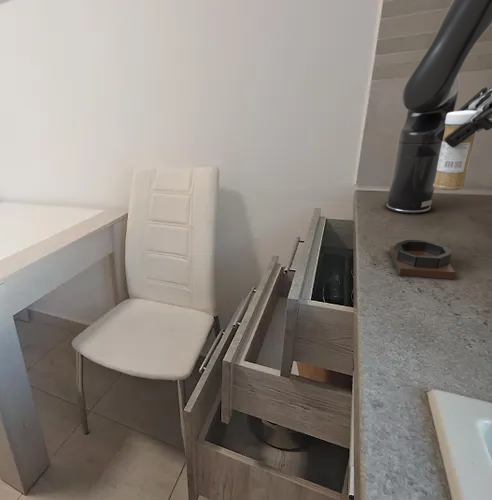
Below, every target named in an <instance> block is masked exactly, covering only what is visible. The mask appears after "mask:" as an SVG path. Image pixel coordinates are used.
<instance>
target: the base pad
mask: <svg viewBox="0 0 492 500" xmlns="http://www.w3.org/2000/svg"><path fill="white" fill-rule="evenodd" d="M389 255H390V258H391V259H392V262H393V264H394V267H395V269H396V272H397V273H398V276H400V277H401V276H403V277H414V278H415V277H416V278H417V277H418V278H427V279H429V278H430V279H440V280H454V279H455V275H456V271H455V269H454V268H453V266H452V265H451V264H450V261H451V257H452V252H451V250H450V249H449V248H448V247H447V246H446V245H445V244H441V243H438V242H434V241H430V240H425V239H424V240H423V239H421V240H420V239H405V240H402V241H400V242H397V243H395V245H390V247H389Z"/></svg>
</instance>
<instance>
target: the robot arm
mask: <svg viewBox="0 0 492 500" xmlns="http://www.w3.org/2000/svg"><path fill="white" fill-rule="evenodd" d="M439 25H440V26H439V28H438V30H437V32H436V34H435V36H434V39H433V40H432V42H431V43H430V45H429V47H428V49H427V50H426V52H425V54H424V55H423V57H422V58H421V60H420V62H419V63H418V64H417V66H416V68H415V69H414V70H413V72H412V74H411V75H410V77H409V78H408V80H407V81H406V83H405V85H404V87H403V89H402V94H401V100H402V104H403V106H404V108H405V109H406V110H407V113H406V115H405V116H406V117H405V120H404V123H403V125H402V127H401V128H400V131H399V133H398V138H397V144H396V150H395V157H394V161H393V162H394V163H393V167H392V173H391V179H390V180H391V181H390V186H389V191H388V197H387V202H386V209H388V210H390V211H392V212H396V213H402V214H423V213H428V212H429V211H430V210H431V206H432V204H433V196H434V192H435V189H436V188H435V187H434V186H433V184H434V182H435V178H436V173H437V165H438V160H439V155H440V150H441V145H442V141H443V137H444V132H445V125H446V124H445V120H446V115H447V113H449V112H455V109H456V105H457V101H458V96H459V92H460V78H459V73H460V71H461V69H462V67H463V66H464V63H465V61H466V59H467V58H468V56H469V54H471V53H470V52H471V51H472V49H473V48H474V47H475V45H476V44H477V43H478V41H479V40H480V39H481V38H482V37H483V35H484V34H485V33H486V31H487V30H489V28H490V27H491V26H492V0H451V2H450V5H449V7H448V9H447V11H446V12H445V15H444V17H443V19H442V22H441V24H439ZM468 110H473V111H477V112H476V113H475V114H474V115H473V116H472V117H471V118H470V119H469V120H468V121H467V123H468V124H467V123H464V124H462V125H461V126H460V127H458V128H457V129H456V130H454V131H453V132H452V133H450V134H449V135H448V136H446V137H445V138H444V141H445V142H446V143H447V144H448V145H449V146H451V147H456V146H457V145H459V144H460V143H461V142H463V141H464V140H465V139H467V138H468V137H470V136H471V135H472V134H474V133H475V134H476V132H477V133H479V132H481V131H483V130H485V131H489V130H491V129H492V86H490V87H489V88H488V87H487V86H486V87H484V88H482V89H480V91H478V92H477V93H476V94H475V95H474V96H473V97H471V98H470V99H469V100H468V101H467V102H465V104H464V105H462V106H461V107H460V108H459V109H457V111H468Z"/></svg>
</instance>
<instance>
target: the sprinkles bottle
mask: <svg viewBox="0 0 492 500" xmlns="http://www.w3.org/2000/svg"><path fill="white" fill-rule="evenodd" d="M476 112H477V111H473V110H468V111H458V110H454V112H449V113H447V115H446V120H445V124H446V125H445V132H444V137H443V141H442V145H441V150H440V155H439V160H438V165H437V173H436V178H435V182H434V184H433V186H434V187H435V188H434V189H438V190H442V191H458V190H463V188H464V187H465V180H466V175H467V171H468V169H469V164H470V160H471V156H472V150H473V145H474V140H475V135H476V132H475V133H474V134H472V135H471V136H470V137H468V138H467V139H465V140H464V141H463V142H461V143H460V144H459V145H457V146H456V147H451V146H449V145H448V144H447V143H446V142H445V141H444V138H445V137H446V136H448V135H449V134H450V133H452V132H453V131H454V130H456V129H457V128H458V127H460V126H461V125H462V124H464V123H467V121H468V120H469V119H470V118H471V117H472V116H473V115H474V114H475V113H476ZM467 124H468V123H467Z"/></svg>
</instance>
